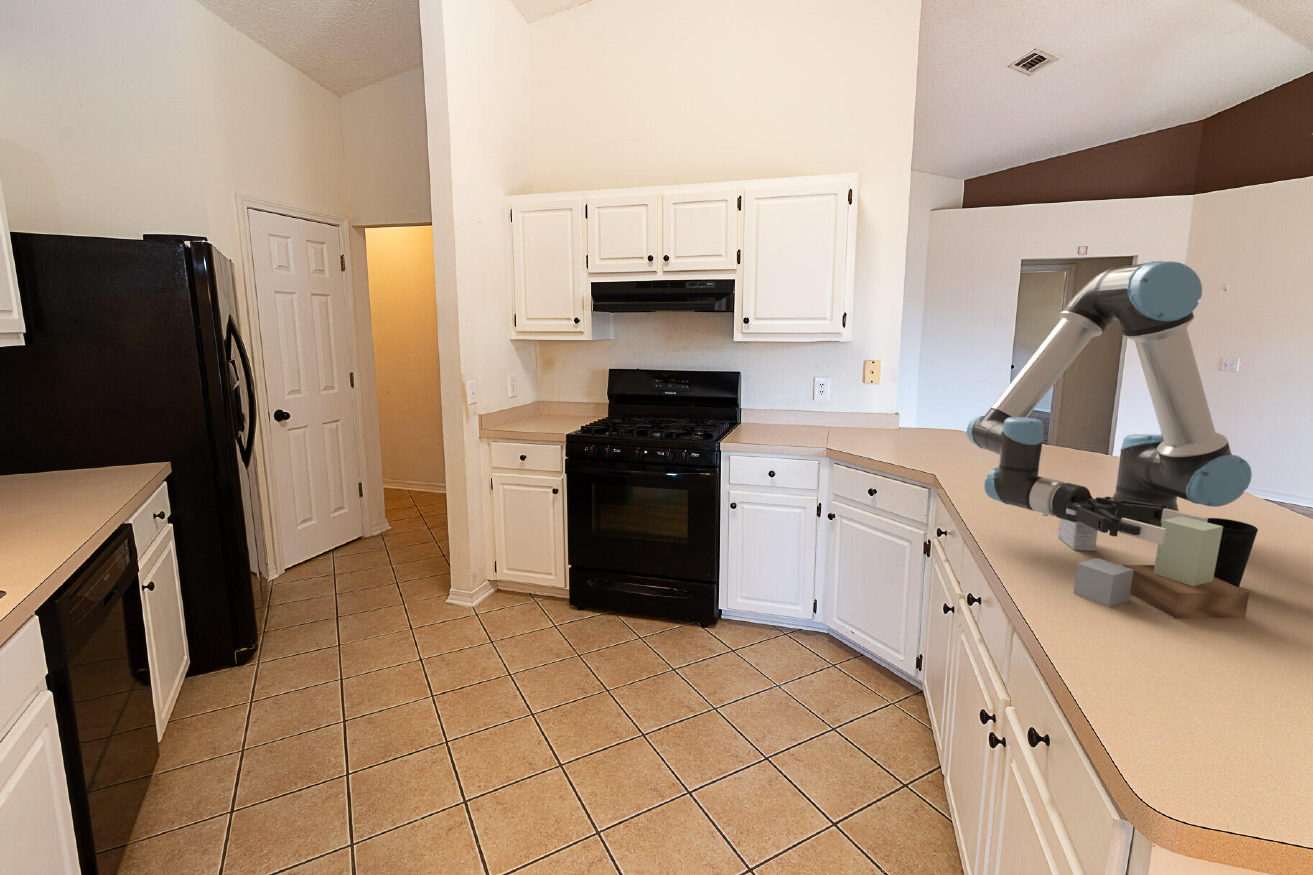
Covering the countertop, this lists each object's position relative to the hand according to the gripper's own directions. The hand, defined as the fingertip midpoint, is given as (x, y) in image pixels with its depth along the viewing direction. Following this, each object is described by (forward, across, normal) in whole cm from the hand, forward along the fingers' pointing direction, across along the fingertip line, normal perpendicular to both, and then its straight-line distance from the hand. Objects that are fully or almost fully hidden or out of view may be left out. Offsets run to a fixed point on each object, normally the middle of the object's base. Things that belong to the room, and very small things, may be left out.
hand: (1185, 531), depth 105 cm
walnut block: (+1, 0, -14) cm, 14 cm away
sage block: (0, 0, -8) cm, 9 cm away
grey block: (-6, +10, -13) cm, 18 cm away
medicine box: (-25, -14, -13) cm, 31 cm away
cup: (0, -16, -13) cm, 21 cm away
